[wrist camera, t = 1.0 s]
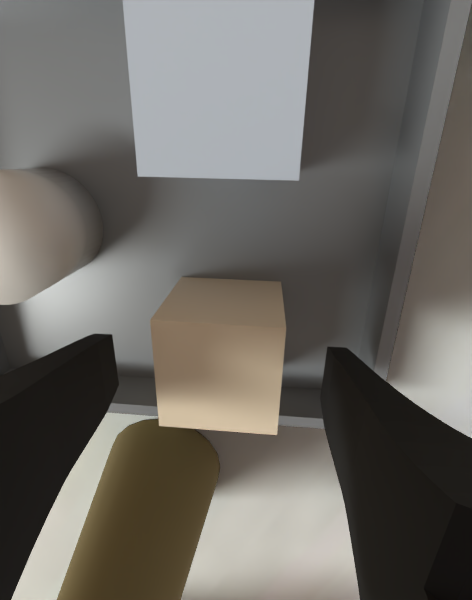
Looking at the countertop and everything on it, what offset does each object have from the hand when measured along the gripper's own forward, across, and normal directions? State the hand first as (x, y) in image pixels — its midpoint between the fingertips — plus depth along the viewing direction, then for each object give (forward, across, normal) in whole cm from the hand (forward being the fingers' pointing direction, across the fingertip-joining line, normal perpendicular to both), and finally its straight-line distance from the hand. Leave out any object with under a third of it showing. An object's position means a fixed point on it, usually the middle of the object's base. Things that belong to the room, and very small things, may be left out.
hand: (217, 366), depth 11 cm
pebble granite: (+3, +7, -4) cm, 9 cm away
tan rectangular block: (+3, 0, 0) cm, 3 cm away
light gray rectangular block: (+3, 0, -8) cm, 9 cm away
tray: (+4, +2, -4) cm, 6 cm away
